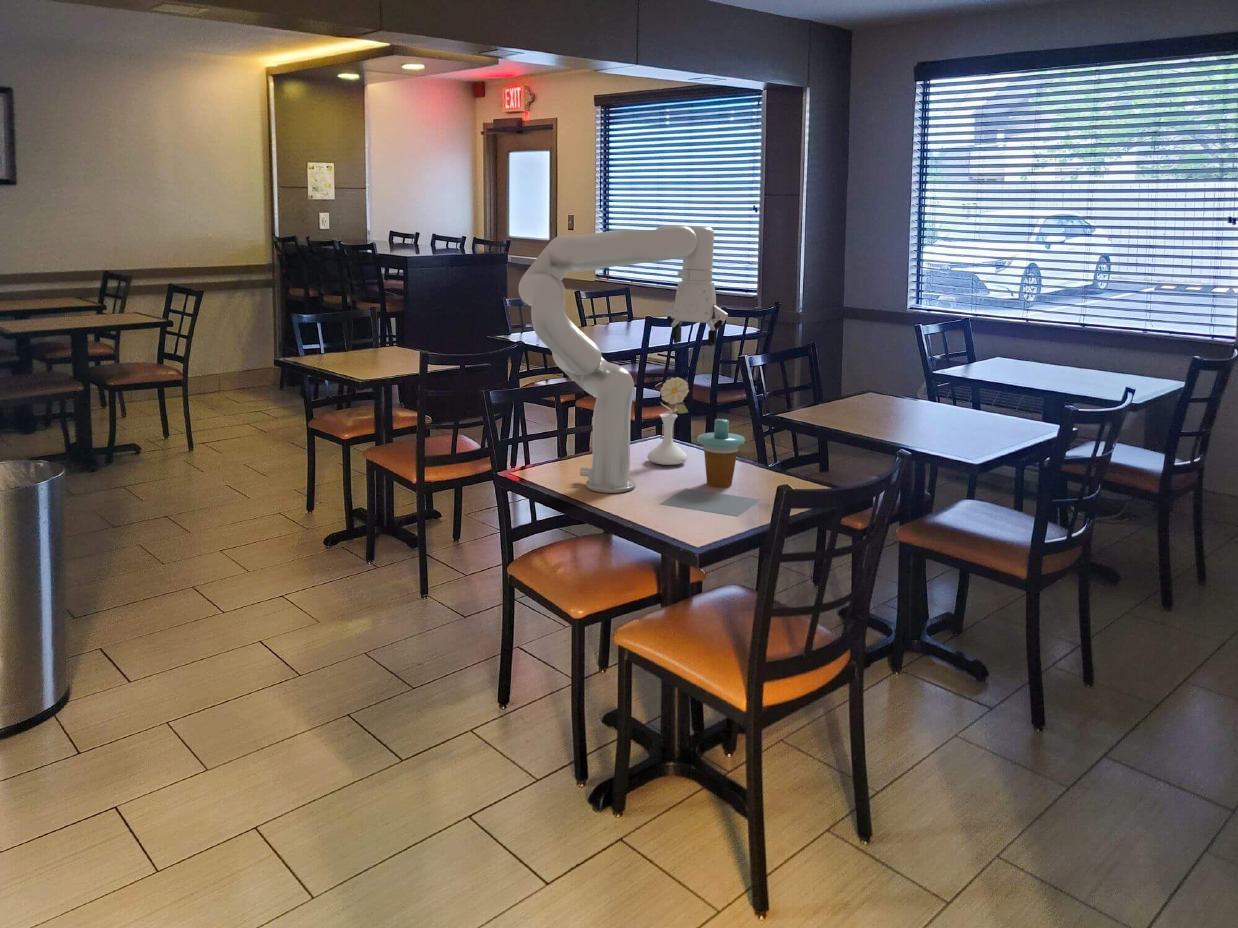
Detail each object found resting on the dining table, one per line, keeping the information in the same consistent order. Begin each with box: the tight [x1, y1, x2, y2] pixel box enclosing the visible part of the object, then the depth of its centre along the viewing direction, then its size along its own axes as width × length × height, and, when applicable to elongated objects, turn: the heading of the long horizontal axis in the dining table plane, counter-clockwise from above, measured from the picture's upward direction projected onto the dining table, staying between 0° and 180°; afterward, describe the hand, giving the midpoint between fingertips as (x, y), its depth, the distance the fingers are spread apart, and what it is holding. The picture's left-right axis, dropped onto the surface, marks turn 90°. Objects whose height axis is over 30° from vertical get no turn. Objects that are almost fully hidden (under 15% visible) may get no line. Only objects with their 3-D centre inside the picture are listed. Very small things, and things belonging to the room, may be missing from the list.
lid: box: [697, 418, 746, 447], centre depth 254 cm, size 12×12×6 cm
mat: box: [659, 487, 761, 518], centre depth 242 cm, size 20×16×1 cm
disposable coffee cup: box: [702, 444, 740, 489], centre depth 256 cm, size 10×10×12 cm
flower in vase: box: [646, 376, 690, 466], centre depth 277 cm, size 13×11×25 cm
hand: (694, 344), depth 255 cm, fingers open, 9 cm apart
